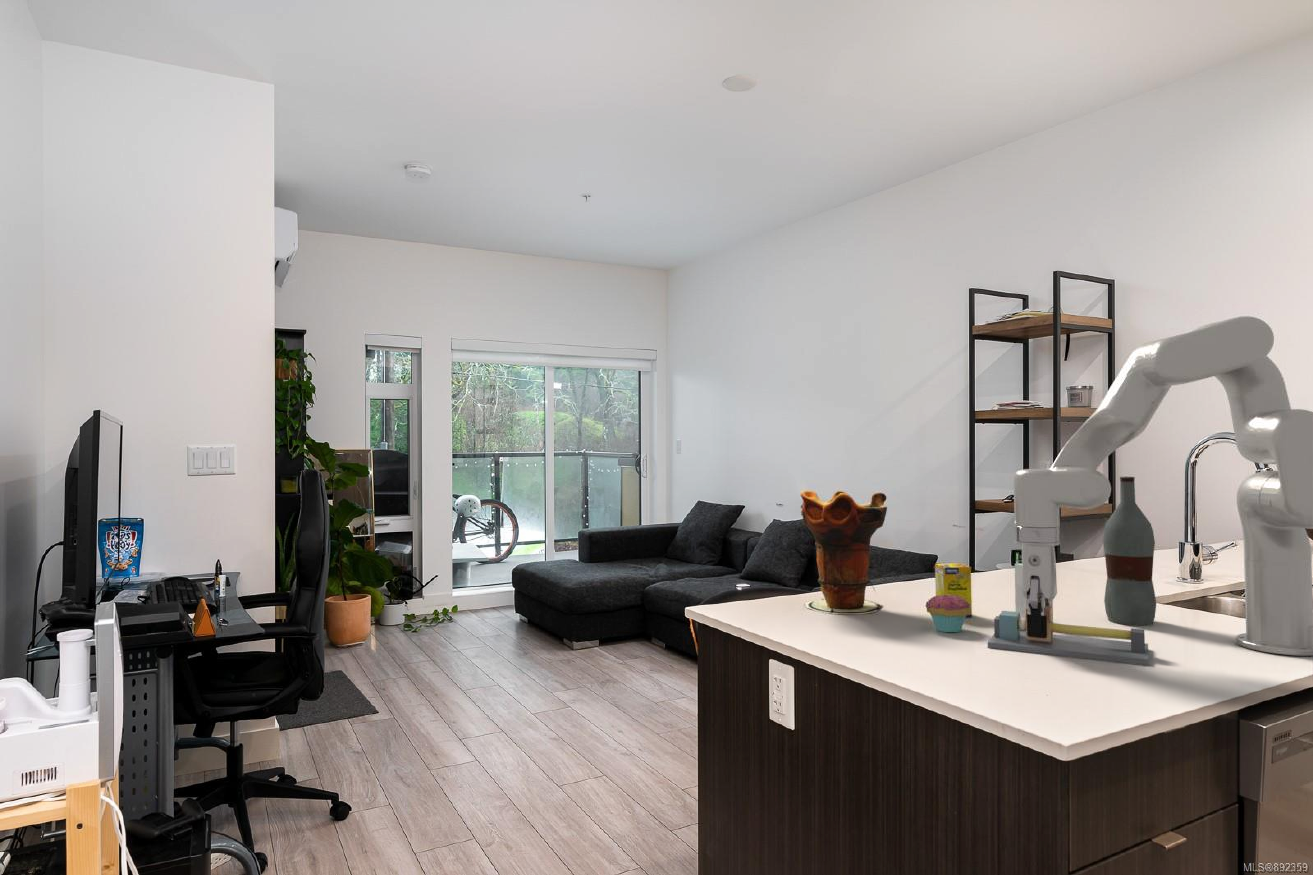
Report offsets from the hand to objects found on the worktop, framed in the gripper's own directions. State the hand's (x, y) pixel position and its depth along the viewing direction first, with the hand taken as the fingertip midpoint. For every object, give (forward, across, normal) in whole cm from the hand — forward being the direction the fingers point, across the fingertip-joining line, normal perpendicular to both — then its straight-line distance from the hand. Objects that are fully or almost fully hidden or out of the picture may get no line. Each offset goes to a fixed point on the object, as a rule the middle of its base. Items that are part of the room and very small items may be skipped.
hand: (1039, 632), depth 145 cm
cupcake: (+3, +5, +17) cm, 18 cm away
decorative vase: (+3, +18, +43) cm, 47 cm away
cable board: (+2, 0, -4) cm, 5 cm away
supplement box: (+3, +20, +19) cm, 28 cm away
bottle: (+3, +30, -14) cm, 33 cm away
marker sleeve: (+1, 0, 0) cm, 1 cm away
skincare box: (+3, +20, +3) cm, 20 cm away
